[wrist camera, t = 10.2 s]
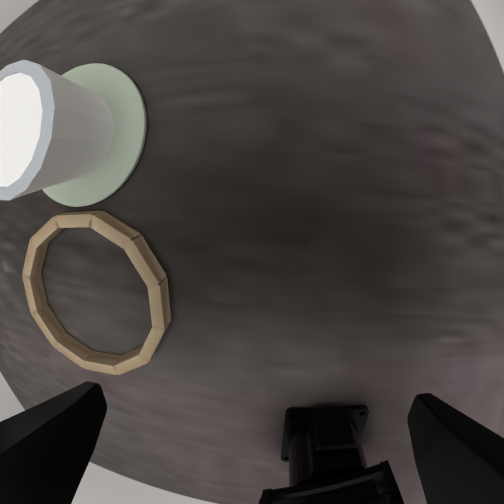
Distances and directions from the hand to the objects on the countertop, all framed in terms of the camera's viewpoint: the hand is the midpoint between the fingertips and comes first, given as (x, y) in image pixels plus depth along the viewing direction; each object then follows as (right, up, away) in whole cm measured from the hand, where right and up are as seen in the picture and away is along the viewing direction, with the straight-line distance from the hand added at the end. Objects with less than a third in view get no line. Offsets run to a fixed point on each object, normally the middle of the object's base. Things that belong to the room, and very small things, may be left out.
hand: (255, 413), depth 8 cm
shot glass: (-11, +12, +10) cm, 19 cm away
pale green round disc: (-11, +12, +10) cm, 19 cm away
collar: (-11, +1, +13) cm, 17 cm away
